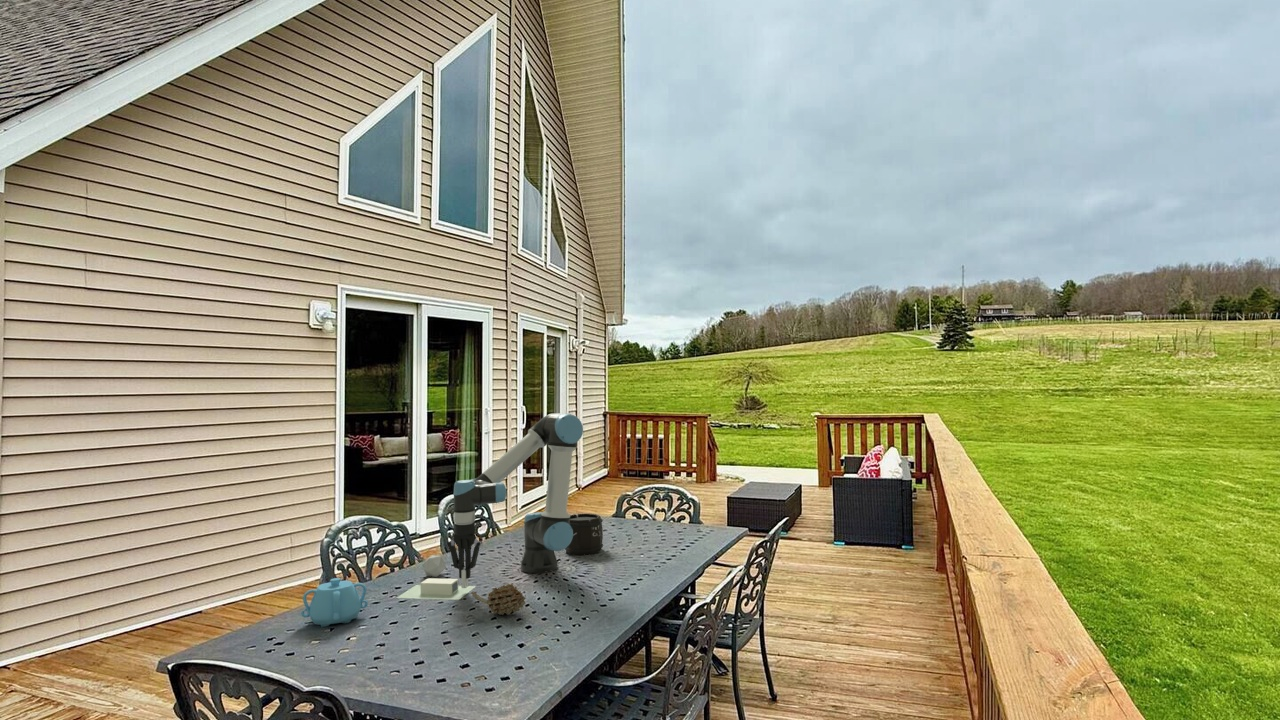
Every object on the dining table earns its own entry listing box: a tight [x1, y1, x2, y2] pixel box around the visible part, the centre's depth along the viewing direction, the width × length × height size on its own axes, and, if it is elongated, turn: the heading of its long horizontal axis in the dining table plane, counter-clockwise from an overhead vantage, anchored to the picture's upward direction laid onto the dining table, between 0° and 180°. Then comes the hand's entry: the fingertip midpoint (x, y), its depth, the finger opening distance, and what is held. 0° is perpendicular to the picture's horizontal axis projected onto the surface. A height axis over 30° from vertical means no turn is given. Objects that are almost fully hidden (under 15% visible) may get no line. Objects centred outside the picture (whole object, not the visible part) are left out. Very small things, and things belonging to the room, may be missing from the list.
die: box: [421, 554, 447, 578], centre depth 268 cm, size 8×9×10 cm
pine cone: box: [471, 583, 526, 616], centre depth 222 cm, size 22×10×10 cm, turn 68°
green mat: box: [395, 584, 477, 601], centre depth 246 cm, size 24×16×1 cm, turn 82°
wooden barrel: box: [564, 513, 604, 557], centre depth 303 cm, size 18×18×16 cm
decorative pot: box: [300, 577, 369, 628], centre depth 218 cm, size 16×16×14 cm
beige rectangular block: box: [419, 577, 459, 595], centre depth 246 cm, size 4×6×12 cm
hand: (464, 587), depth 245 cm, fingers closed
